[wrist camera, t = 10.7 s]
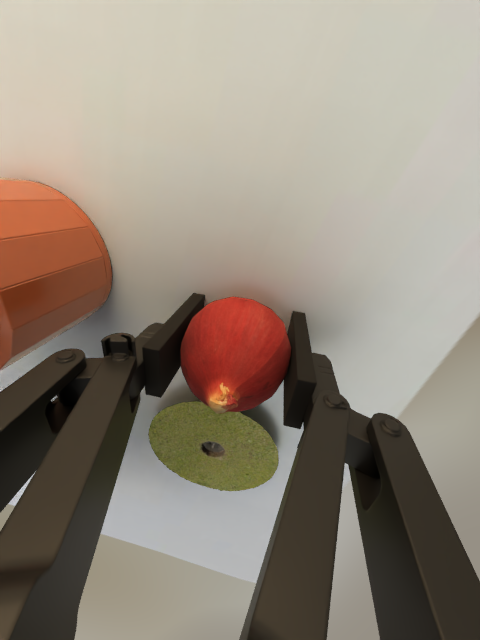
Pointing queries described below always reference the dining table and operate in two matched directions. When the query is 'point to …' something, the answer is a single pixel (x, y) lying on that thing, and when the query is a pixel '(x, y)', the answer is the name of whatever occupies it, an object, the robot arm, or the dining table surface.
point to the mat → (213, 447)
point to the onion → (235, 354)
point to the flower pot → (45, 267)
